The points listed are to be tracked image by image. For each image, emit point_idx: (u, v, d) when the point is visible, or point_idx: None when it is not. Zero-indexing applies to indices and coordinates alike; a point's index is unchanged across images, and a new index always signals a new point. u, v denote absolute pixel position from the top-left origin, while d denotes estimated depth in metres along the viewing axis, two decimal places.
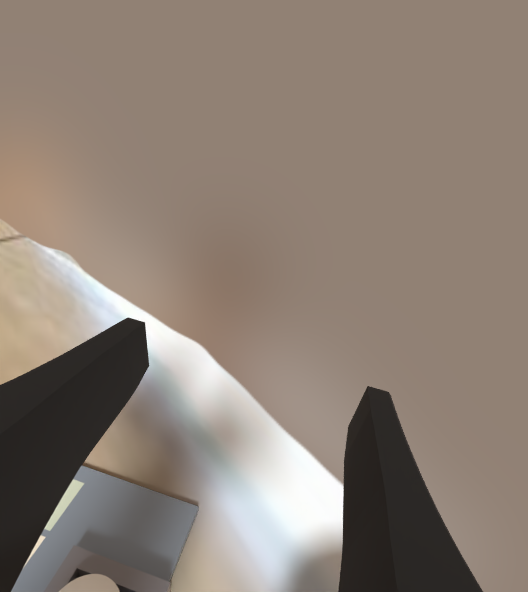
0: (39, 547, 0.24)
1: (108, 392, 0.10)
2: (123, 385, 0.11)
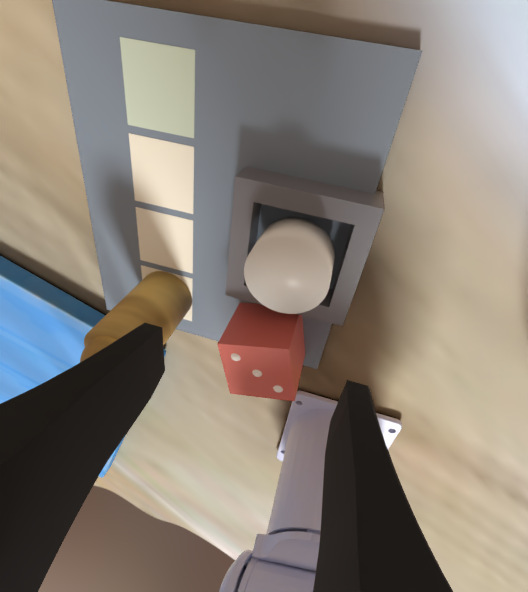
0: (195, 160, 0.18)
1: (127, 398, 0.10)
2: (140, 390, 0.10)
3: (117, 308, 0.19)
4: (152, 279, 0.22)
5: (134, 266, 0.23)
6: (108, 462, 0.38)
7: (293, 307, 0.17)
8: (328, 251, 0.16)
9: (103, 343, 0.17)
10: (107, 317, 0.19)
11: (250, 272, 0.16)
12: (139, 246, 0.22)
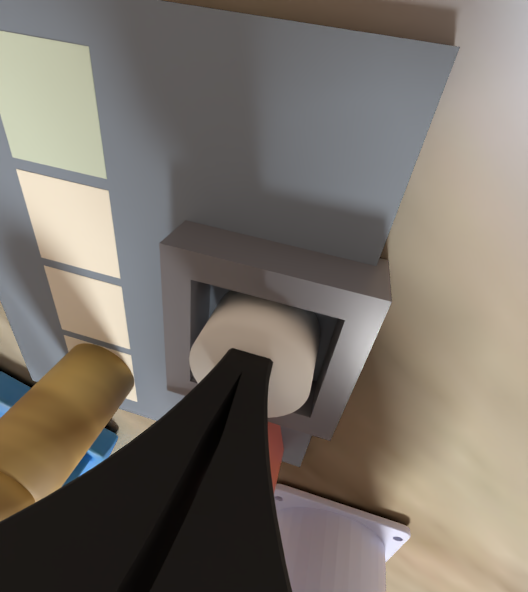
0: (113, 209, 0.12)
1: (223, 429, 0.09)
2: None
3: (11, 414, 0.13)
4: (74, 358, 0.16)
5: (55, 335, 0.17)
6: None
7: None
8: (309, 337, 0.11)
9: None
10: None
11: (199, 365, 0.11)
12: (58, 313, 0.16)
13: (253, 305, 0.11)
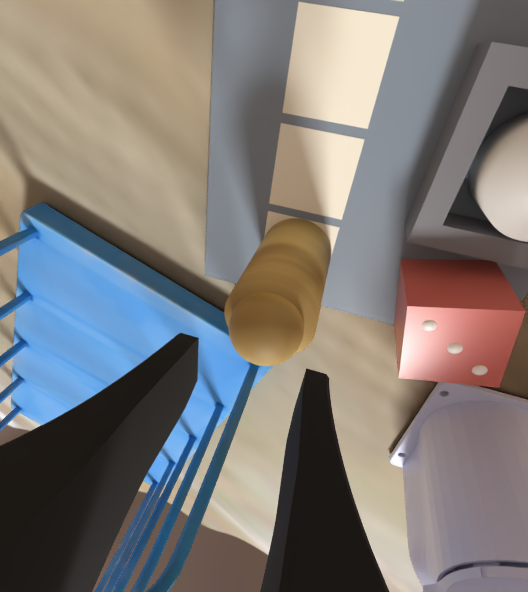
0: (395, 39, 0.12)
1: (166, 411, 0.10)
2: (177, 402, 0.10)
3: (267, 258, 0.14)
4: (291, 226, 0.16)
5: (257, 213, 0.17)
6: None
7: None
8: None
9: (269, 300, 0.12)
10: (259, 268, 0.13)
11: (499, 179, 0.12)
12: (272, 183, 0.16)
13: None
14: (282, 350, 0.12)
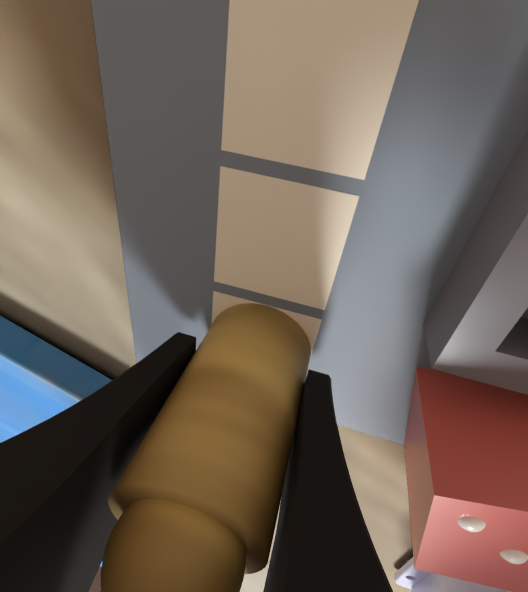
0: (416, 23, 0.06)
1: None
2: None
3: (188, 408, 0.08)
4: (244, 323, 0.10)
5: (198, 293, 0.12)
6: None
7: None
8: None
9: (168, 536, 0.06)
10: (168, 438, 0.07)
11: None
12: (216, 254, 0.10)
13: None
14: None
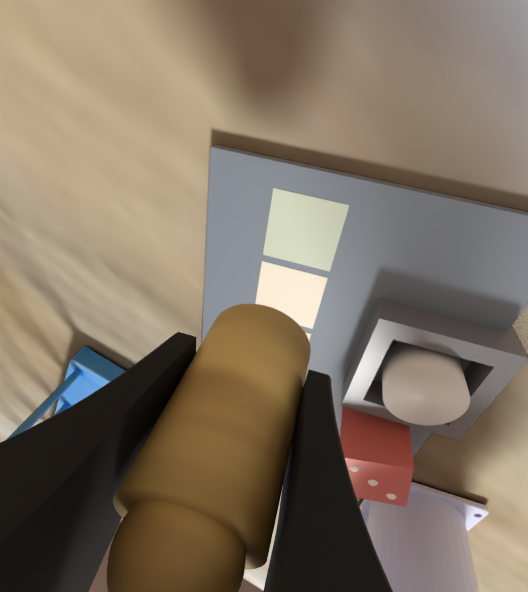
0: (326, 288, 0.18)
1: None
2: None
3: (189, 411, 0.08)
4: (245, 325, 0.10)
5: None
6: None
7: (425, 420, 0.18)
8: (463, 374, 0.17)
9: (171, 538, 0.06)
10: (169, 441, 0.08)
11: (390, 391, 0.18)
12: None
13: (431, 355, 0.17)
14: None
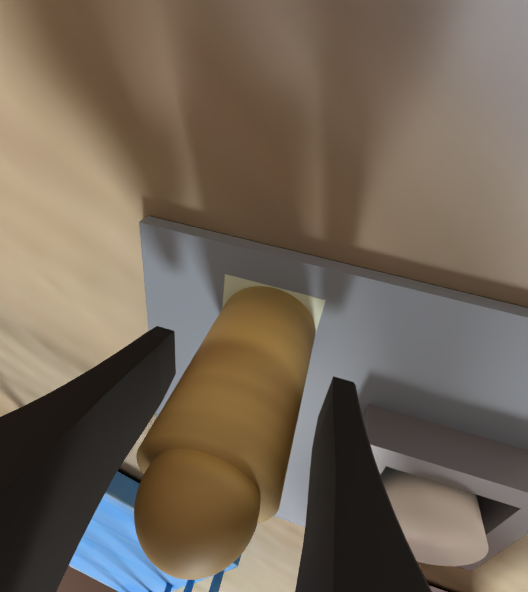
0: None
1: (140, 403, 0.10)
2: (153, 394, 0.10)
3: (207, 374, 0.09)
4: (255, 303, 0.11)
5: None
6: None
7: (429, 560, 0.14)
8: (478, 508, 0.13)
9: (195, 477, 0.07)
10: (190, 398, 0.08)
11: None
12: None
13: (436, 486, 0.13)
14: (216, 566, 0.07)
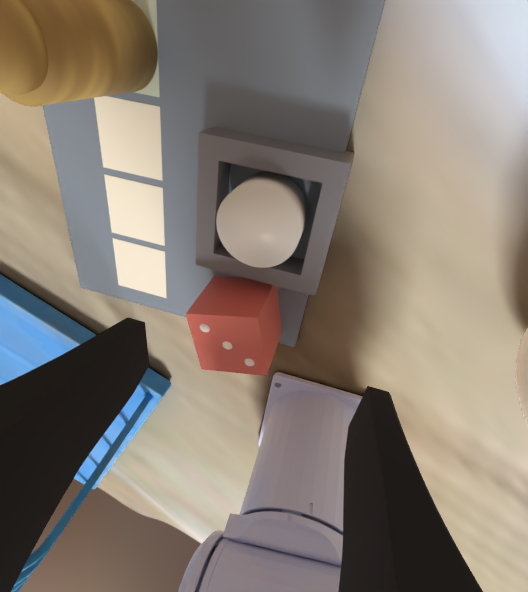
0: (162, 121, 0.17)
1: (108, 392, 0.10)
2: (122, 385, 0.11)
3: None
4: None
5: (105, 239, 0.22)
6: (102, 476, 0.39)
7: (265, 260, 0.17)
8: (299, 203, 0.16)
9: None
10: None
11: (223, 224, 0.16)
12: (110, 217, 0.21)
13: (261, 178, 0.16)
14: None
